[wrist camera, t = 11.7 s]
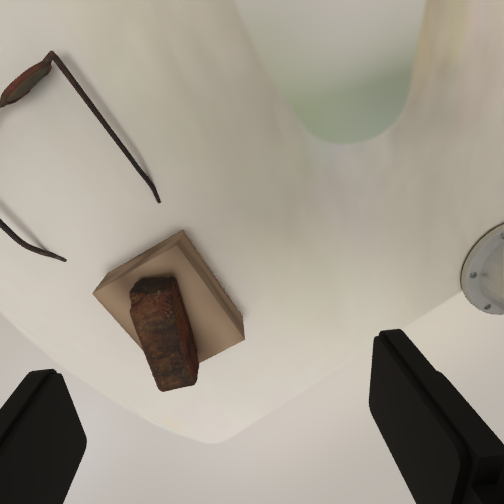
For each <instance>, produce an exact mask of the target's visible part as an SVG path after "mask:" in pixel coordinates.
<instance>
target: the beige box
mask: <svg viewBox="0 0 504 504" xmlns="http://www.w3.org/2000/svg"><path fill="white" fill-rule="evenodd" d="M162 276H163V277H170V276H173V277H175V278H176V279H177V283H178V286H179V290H180V293H181V296H182V299H183V303H184V306H185V309H186V313H187V316H188V319H189V322H190V326H191V329H192V332H193V337H194V342H195V345H196V348H197V356H198V360H199V363H200V362H202V361H204V360H206V359H208V358H210V357H212V356H214V355H216V354H218V353H220V352H222V351H224V350H226V349H227V348H229V347H231V346H233V345H235V344H237V343H239V342H241V341H243V340H245V336H244V326H243V316H242V315H241V313H240V312H239V311H238V309H237V308H236V306H235V305H234V303H233V302H232V300H231V299H230V298H229V296H228V295H227V293H226V292H225V290H224V289H223V287H222V286H221V285H220V283H219V282H218V280H217V279H216V277H215V276H214V275H213V273H212V272H211V270H210V269H209V267H208V266H207V264H206V263H205V262H204V260H203V259H202V257H201V256H200V254H199V253H198V251H197V250H196V249H195V247H194V246H193V244H192V243H191V241H190V240H189V239H188V237H187V236H186V234H185V233H184V231H183V230H182V231H180V232H178V233H177V234H175V235H173V236H171V237H170V238H168V239H166V240H165V241H163V242H161V243H159V244H158V245H156V246H154V247H152V248H151V249H149V250H147V251H146V252H144V253H142V254H140V255H139V256H137V257H135V258H133V259H132V260H130V261H128V262H127V263H125V264H123V265H121V266H120V267H118V268H116V269H114V270H113V271H111V272H109V273H108V274H107V275H106V276H105V277H104V279H103V280H102V281H101V283H100V284H99V285H98V287H97V288H96V289H95V291H94V292H93V293H92V294H93V295H94V296H95V297H96V298H97V300H98V301H99V302H100V303H101V304H102V305H103V306H104V307H105V309H106V310H107V311H108V312H109V313H110V314H111V315H112V316H113V317H114V319H115V320H116V321H117V322H118V323H119V324H120V325H121V326H122V328H123V329H124V330H125V331H126V332H127V333H128V334H129V335H130V336H131V338H132V339H133V340H134V341H135V342H136V343H137V344H138V345H139V346H140V348H141V349H142V350H143V348H142V346H141V343H140V340H139V338H138V336H137V333H136V330H135V327H134V325H133V322H132V319H131V316H130V312H129V311H130V308H131V300H130V297H129V292H130V290H131V289H132V288H133V287H134V284H135V283H136V282H137V281H139V280H140V279H143V278H147V279H149V278H155V277H162Z"/></svg>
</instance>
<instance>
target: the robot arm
mask: <svg viewBox="0 0 504 504" xmlns="http://www.w3.org/2000/svg"><path fill="white" fill-rule="evenodd" d="M461 284H462V290H463V292H464V294H465V297H466V298H467V299H468V301H469V302H470V303H471V304H473V305H474V306H475V307H477V308H478V309H479V310H482V311H483V312H486V313H490V314H499V315H502V314H504V224H502V225H500V226H498V227H497V228H495V229H494V230H492V231H490V232H489V233H488V234H487V235H485V236H484V237H483V238H482V239H481V240H480V241H479V242H478V243H477V244H476V246H475V247H474V248H473V249H472V251H471V252H470V254H469V256H468V257H467V260H466V262H465V264H464V267H463V271H462V276H461ZM369 407H370V411H371V414H372V416H373V418H374V420H375V422H376V424H377V426H378V428H379V430H380V432H381V434H382V436H383V438H384V440H385V442H386V444H387V446H388V448H389V450H390V452H391V454H392V456H393V458H394V460H395V462H396V464H397V466H398V468H399V470H400V472H401V474H402V476H403V478H404V480H405V482H406V484H407V486H408V488H409V490H410V492H411V494H412V496H413V498H414V500H415V502H416V504H504V444H503V443H502V442H501V440H500V439H499V438H498V437H497V436H496V435H495V434H494V432H493V431H492V430H491V429H490V428H489V427H488V425H487V424H486V423H485V422H484V421H483V420H482V419H481V417H480V416H479V415H478V414H477V413H476V411H475V410H474V409H473V408H472V407H471V406H470V405H469V403H468V402H467V401H466V400H465V399H464V398H463V396H462V395H461V394H460V393H459V392H458V391H457V389H456V388H455V387H454V386H453V385H452V384H451V382H450V381H449V380H448V379H447V378H446V377H445V376H444V375H443V374H442V373H441V372H439V371H436V370H435V369H434V367H433V366H432V365H431V364H430V363H429V361H428V360H427V359H426V358H425V357H424V355H423V354H422V353H421V352H420V351H419V350H418V348H417V347H416V346H415V345H414V344H413V343H412V341H411V340H410V339H409V338H408V337H407V335H406V334H405V333H404V332H403V331H402V330H401V329H393V330H384V331H380V333H379V336H376V337H375V338H374V343H373V355H372V368H371V380H370V393H369ZM86 444H87V438H86V435H85V432H84V430H83V427H82V425H81V422H80V420H79V417H78V415H77V412H76V409H75V407H74V404H73V401H72V399H71V396H70V394H69V391H68V389H67V386H66V383H65V381H64V378H63V376H62V374H60V373H57V372H56V371H55V370H54V369H46V370H37V371H32V372H29V373H28V374H27V375H26V377H25V378H24V379H23V380H22V382H21V383H20V384H19V386H18V387H17V388H16V390H15V391H14V392H13V394H12V395H11V396H10V397H9V399H8V400H7V401H6V402H5V404H4V405H3V406H2V408H1V409H0V504H63V502H64V500H65V497H66V495H67V493H68V490H69V488H70V485H71V483H72V481H73V478H74V476H75V474H76V471H77V469H78V467H79V464H80V462H81V459H82V457H83V455H84V452H85V449H86Z"/></svg>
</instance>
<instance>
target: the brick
mask: <svg viewBox="0 0 504 504" xmlns="http://www.w3.org/2000/svg"><path fill="white" fill-rule="evenodd" d="M129 297H130V300H131V308H130V311H129V312H130V316H131V319H132V322H133V325H134V327H135V330H136V333H137V336H138V338H139V340H140V343H141V346H142V348H143V351H144V353H145V356H146V359H147V361H148V364H149V366H150V369H151V371H152V375H153V377H154V379H155V382H156V384H157V387H158V389H159V390H160V391H162V392H165V391H169V390H173V389H177V388H182V387H187V386H192V385H195V383H196V381H197V374H198V369H199V360H198V356H197V348H196V345H195V342H194V337H193V332H192V329H191V326H190V322H189V319H188V316H187V313H186V309H185V306H184V303H183V299H182V296H181V293H180V290H179V286H178V283H177V279H176V278H175V277H173V276H170V277H163V276H162V277H155V278H149V279H147V278H143V279H140V280H139V281H137V282H136V283H135V284H134V287H133V288H132V289H131V290H130V292H129Z"/></svg>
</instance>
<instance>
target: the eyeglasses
mask: <svg viewBox="0 0 504 504" xmlns="http://www.w3.org/2000/svg"><path fill="white" fill-rule="evenodd" d="M52 60H54V62H55V63H56V64H57V66H58V67H59V68H60V70H61V71H62V72H63V74H64V75H65V76H66V78H67V79H68V80H69V82H70V83H71V84H72V86H73V87H74V88H75V90H76V91H77V92H78V94H79V95H80V96H81V98H82V99H83V100H84V102H85V103H86V104H87V105H88V107H89V108H90V109H91V111H92V112H93V113H94V115H95V116H96V117H97V119H98V120H99V121H100V123H101V124H102V125H103V127H104V128H105V129H106V130H107V132H108V133H109V134H110V136H111V137H112V138H113V140H114V141H115V142H116V144H117V145H118V146H119V147H120V149H121V150H122V151H123V153H124V154H125V155H126V157H127V158H128V159H129V161H130V162H131V163H132V165H133V166H134V167H135V169H136V170H137V171H138V173H139V174H140V175H141V176H142V178H143V179H144V180H145V181H146V183H147V184H148V185H149V187H150V188H151V190H152V192H153V194H154V196H155V198H156V200H157V202H158V203H161V201H160V198H159V196H158V193H157V191H156V188H155V186H154V184H153V183H152V181H151V180H150V179H149V178H148V176H147V175H146V174H145V173H144V171H143V170H142V169H141V168H140V166H139V165H138V164H137V162H136V161H135V159H134V158H133V157H132V155H131V154H130V153H129V151H128V150H127V149H126V147H125V146H124V145H123V143H122V142H121V141H120V139H119V138H118V137H117V135H116V134H115V133H114V131H113V130H112V129H111V127H110V126H109V125H108V123H107V122H106V121H105V119H104V118H103V116H102V115H101V114H100V112H99V111H98V110H97V108H96V107H95V106H94V104H93V103H92V101H91V100H90V99H89V97H88V96H87V95H86V93H85V92H84V91H83V89H82V88H81V86H80V85H79V84H78V82H77V81H76V80H75V78H74V77H73V76H72V74H71V73H70V72H69V70H68V69H67V67H66V66H65V65H64V63H63V62H62V61H61V60H60V58H59V57H58V56H57V55H56V54H55V53H54V52H53V51H50V52H49V53H48V54H47V55H46V57H45V58H44V59H43V61H41V62H39V63H38V64H36V65H34V66H32V67H30V68H29V69H27V70H26V71H25V72H23V73H22V74H21V75H20V76H19V77H17V78H16V79H15V80H14V81H13V82H12V83H11V84H10V85H9V86H8V87H7V88H6V89H5V90H4V92H3V93H2V95H1V98H0V108H1V107H4V106H6V105H8V104H12V103H15V102H17V101H18V100H19V99H21V98H22V97H23V96H25V95H26V94H27V93H29V92H30V89H32V88H33V87H34V86H35V85H36V84H37V83H38V82H39V81H40V80H41V79H42V78H43V77H44V76H46V75H47V74H48V73H49V72H50V70H51V62H52ZM0 228H2V229H3V230H4V231H5V232H6V233H7V234H8V235H9V236H10V237H11V238H12V239H13V240H14V241H16V242H17V243H18V244H20V245H21V246H22V247H24V248H26V249H28V250H30V251H33V252H35V253H38V254H40V255H44V256H48V257H52V258H55V259H58V260H61V261H63V262H66V261H67V259H65V258H63V257H60V256H58V255H56V254H54V253H52V252H48V251H45V250H42V249H40V248H37V247H35V246H32V245H30V244H28V243H26V242H25V241H23V240H22V239H21V238H20V237H19V236H17V235H16V234H15V233H14V232H13V231H12V230H11V229H10V228H9V227H8V226H7V225H6V224H5V223H4V222H3V221H2V220H1V219H0Z"/></svg>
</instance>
